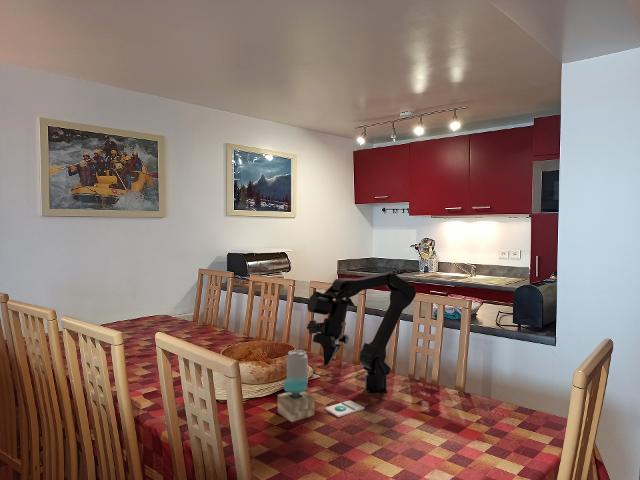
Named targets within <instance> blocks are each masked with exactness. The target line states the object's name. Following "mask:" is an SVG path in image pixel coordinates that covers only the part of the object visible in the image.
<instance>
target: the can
mask: <svg viewBox="0 0 640 480" xmlns="http://www.w3.org/2000/svg"><path fill="white" fill-rule="evenodd" d="M287 353H288V354H287V356H286V360H285V361H286V380H287V379H291V378H302V379H305V380H307V385H308V383H309V374H308V373H309V368H308V367H309V364H308V363H309V361H308V360H309V359H308V355H307V352H306V351H305V350H302V349H293V350H290V351H289V350H288V352H287Z"/></svg>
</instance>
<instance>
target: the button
mask: <svg viewBox="0 0 640 480" xmlns="http://www.w3.org/2000/svg"><path fill="white" fill-rule="evenodd" d="M283 390H284V391H285V393H287V392H290V393H292V398H293V399H296V398H300V392H306V391H307V390H308V384H307V380H305V379H302V378H291V379H287V378H286V379H285V380H284V382H283Z"/></svg>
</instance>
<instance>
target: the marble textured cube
mask: <svg viewBox="0 0 640 480" xmlns="http://www.w3.org/2000/svg"><path fill="white" fill-rule="evenodd" d="M277 413H278V414H279V415H281V416H282V417H283V418H285V420H288V421H289V422H291V423H294V422H296V421H299V420H302V419H303V420H304V419H306V418H310V417H313V416H315V397H314V396H313V395H311V394H309V393H307V392H306V391H304V392H300V398H296V399H293V398H292V393H290V392H283V393H279V394H277Z"/></svg>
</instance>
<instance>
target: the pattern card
mask: <svg viewBox="0 0 640 480" xmlns="http://www.w3.org/2000/svg"><path fill="white" fill-rule="evenodd" d="M362 410H365V407H364V406H362V405H360V404H358V403H356V402H354V401H352V400H349V399H348V400H345V401H343V402H340V403H337V404H336V403H335V404H334V405H330V406H327V407H324V411H326V412H328V413H330V414H332V415H334V416H336V417H337V418H341V417H344V416H347V415H350V414H353V413H356V412H359V411H362Z"/></svg>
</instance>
